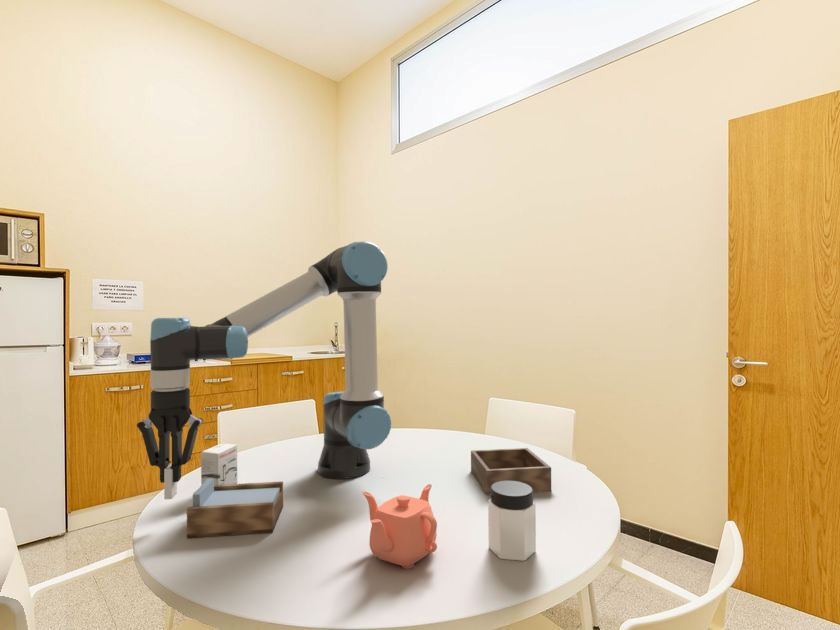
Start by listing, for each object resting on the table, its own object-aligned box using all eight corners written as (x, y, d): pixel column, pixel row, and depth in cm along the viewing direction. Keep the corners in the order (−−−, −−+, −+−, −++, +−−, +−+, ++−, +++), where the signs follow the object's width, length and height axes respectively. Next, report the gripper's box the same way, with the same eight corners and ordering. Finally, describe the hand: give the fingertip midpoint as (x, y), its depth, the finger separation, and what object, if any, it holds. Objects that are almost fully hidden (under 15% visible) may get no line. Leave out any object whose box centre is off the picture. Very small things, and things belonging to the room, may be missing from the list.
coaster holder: (527, 468, 133) (527, 447, 133) (551, 490, 117) (551, 467, 117) (471, 471, 131) (470, 450, 131) (487, 494, 114) (486, 470, 114)
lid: (279, 492, 107) (279, 474, 106) (271, 510, 97) (271, 491, 97) (208, 496, 104) (208, 478, 104) (192, 515, 95) (192, 495, 95)
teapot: (371, 582, 78) (370, 518, 78) (362, 541, 92) (361, 487, 91) (452, 570, 81) (451, 508, 81) (431, 532, 95) (431, 480, 95)
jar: (504, 534, 94) (504, 476, 94) (541, 547, 89) (541, 486, 89) (481, 552, 87) (480, 489, 87) (519, 567, 82) (519, 500, 82)
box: (283, 506, 108) (283, 481, 108) (272, 532, 95) (272, 504, 95) (208, 511, 106) (208, 485, 106) (187, 538, 93) (186, 509, 93)
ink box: (218, 501, 112) (217, 453, 112) (200, 499, 113) (199, 452, 112) (238, 487, 120) (238, 443, 120) (221, 486, 121) (221, 442, 121)
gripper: (207, 385, 103) (207, 488, 103) (146, 386, 102) (146, 491, 102) (195, 390, 96) (195, 502, 96) (129, 391, 94) (129, 505, 94)
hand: (170, 496), depth 99 cm, fingers closed
